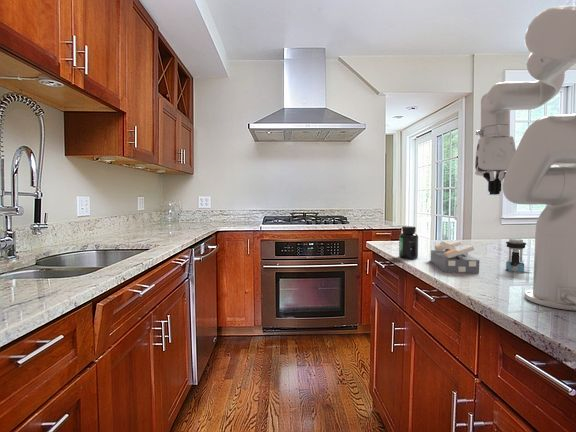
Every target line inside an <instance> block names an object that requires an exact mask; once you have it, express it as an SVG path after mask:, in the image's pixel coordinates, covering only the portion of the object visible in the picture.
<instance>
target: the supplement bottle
mask: <svg viewBox="0 0 576 432" xmlns="http://www.w3.org/2000/svg"><path fill="white" fill-rule="evenodd" d="M416 229H417V227H416V226H411V225H410V226H409V225H408V226H407V225H406V226H402V227H401V232H402V233H400V234H399V235H398V237H399V242H398V245H399V247H398V249H399V250H398V256H399V258H400V259H403V260H417V259H418V258H419V235H418V234H417V233H416V232H417V231H416Z"/></svg>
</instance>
